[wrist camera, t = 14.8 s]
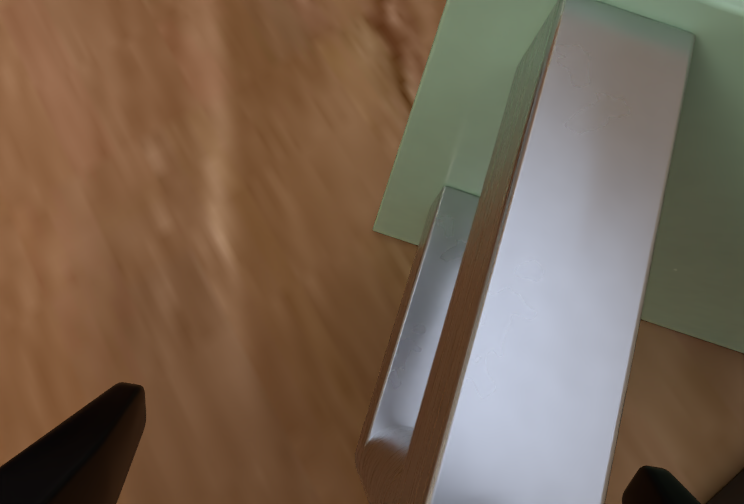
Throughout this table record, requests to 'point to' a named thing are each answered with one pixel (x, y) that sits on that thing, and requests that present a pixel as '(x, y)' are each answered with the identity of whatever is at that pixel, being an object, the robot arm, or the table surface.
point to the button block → (731, 492)
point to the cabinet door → (553, 239)
